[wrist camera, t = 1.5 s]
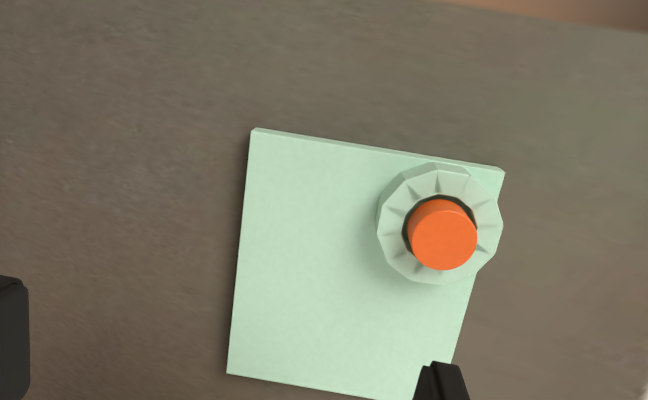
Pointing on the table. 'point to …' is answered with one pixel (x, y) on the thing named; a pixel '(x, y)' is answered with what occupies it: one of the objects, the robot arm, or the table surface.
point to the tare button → (441, 234)
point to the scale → (349, 264)
